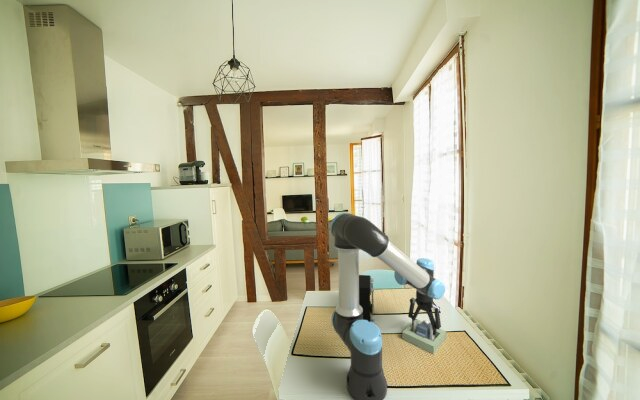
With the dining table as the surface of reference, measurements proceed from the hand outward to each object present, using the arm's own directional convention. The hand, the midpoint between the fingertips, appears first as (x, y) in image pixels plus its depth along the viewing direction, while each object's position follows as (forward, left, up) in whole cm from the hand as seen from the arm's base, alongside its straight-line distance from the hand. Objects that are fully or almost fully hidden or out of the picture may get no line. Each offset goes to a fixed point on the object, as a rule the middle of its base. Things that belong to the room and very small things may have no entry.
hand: (423, 336), depth 119 cm
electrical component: (-2, +33, -2) cm, 34 cm away
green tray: (0, 0, -1) cm, 1 cm away
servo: (+1, 0, -1) cm, 2 cm away
